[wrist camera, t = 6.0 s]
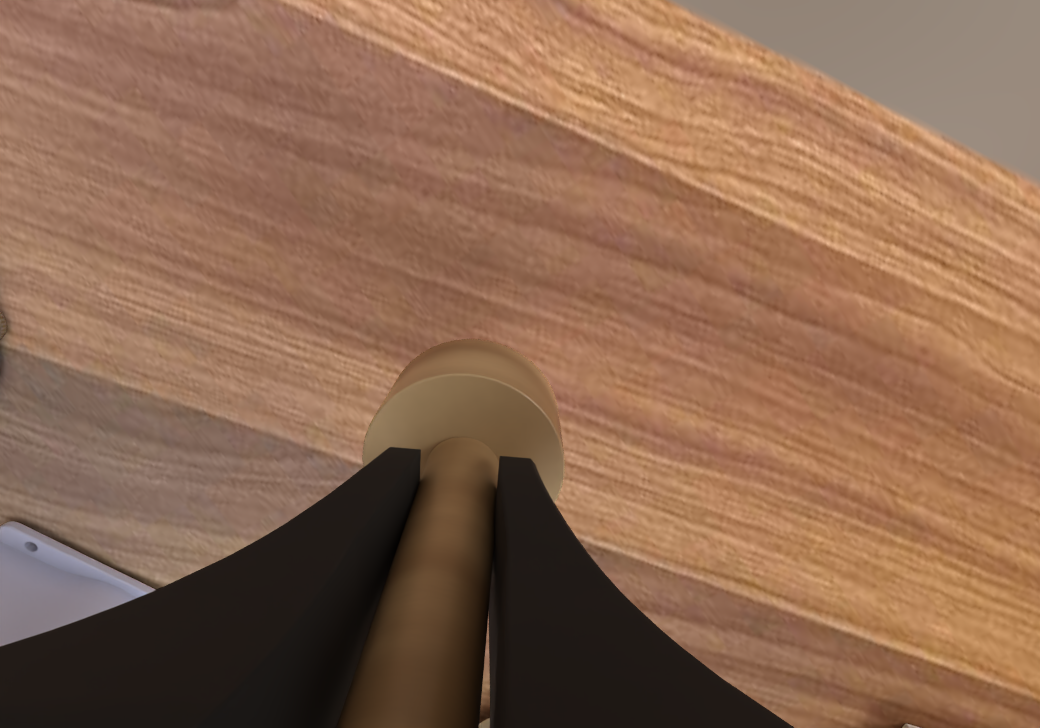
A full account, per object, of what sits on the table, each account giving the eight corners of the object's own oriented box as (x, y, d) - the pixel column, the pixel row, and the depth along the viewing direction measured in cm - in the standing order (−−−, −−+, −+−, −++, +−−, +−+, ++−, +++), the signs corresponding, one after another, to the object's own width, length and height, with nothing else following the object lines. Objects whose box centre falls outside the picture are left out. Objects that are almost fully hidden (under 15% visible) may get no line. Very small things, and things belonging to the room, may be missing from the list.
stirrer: (358, 437, 14) (-35, 1063, 4) (447, 303, 13) (185, 753, 3) (496, 518, 15) (438, 1198, 5) (592, 400, 14) (768, 1001, 4)
